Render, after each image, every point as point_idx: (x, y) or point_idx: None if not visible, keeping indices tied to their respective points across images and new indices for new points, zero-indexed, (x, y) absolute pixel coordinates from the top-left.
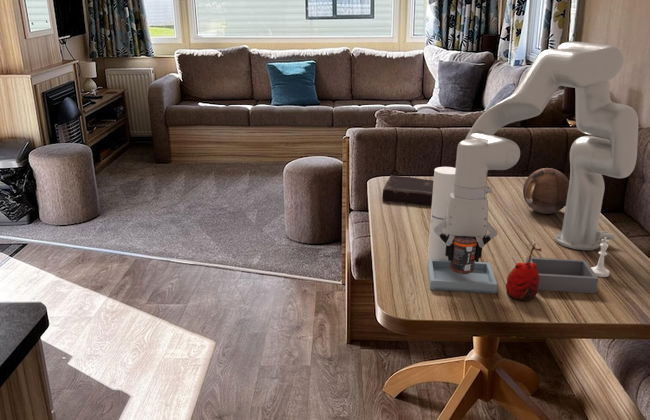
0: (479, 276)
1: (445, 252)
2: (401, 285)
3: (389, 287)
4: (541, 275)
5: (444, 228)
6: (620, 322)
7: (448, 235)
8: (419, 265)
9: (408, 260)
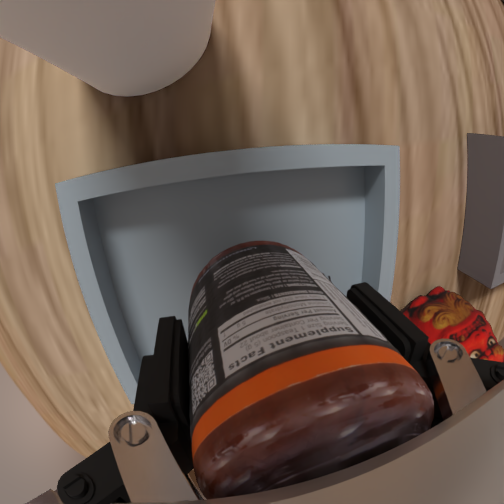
0: (332, 235)
1: (143, 364)
2: (46, 362)
3: (28, 376)
4: (499, 284)
5: (43, 2)
6: (499, 340)
7: (141, 487)
8: (43, 163)
9: (3, 128)
